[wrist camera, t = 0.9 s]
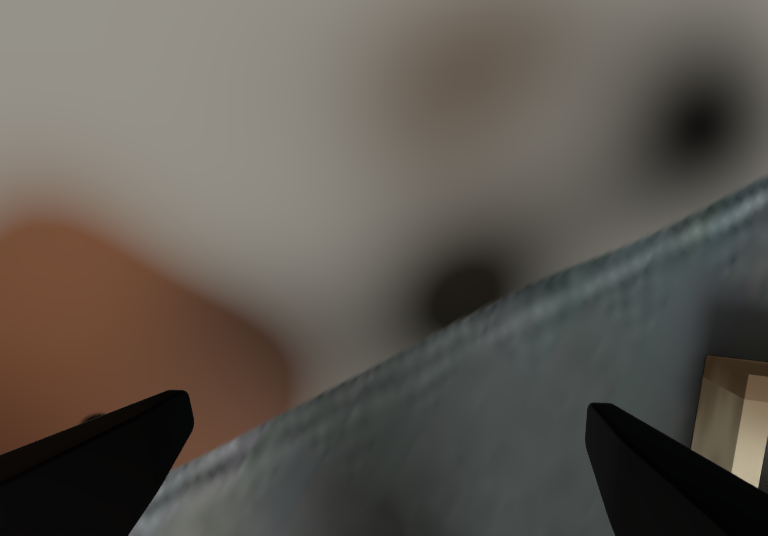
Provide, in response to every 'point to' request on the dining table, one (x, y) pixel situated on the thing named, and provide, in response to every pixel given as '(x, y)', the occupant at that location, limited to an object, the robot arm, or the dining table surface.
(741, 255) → the dining table surface
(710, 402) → the pusher lane
